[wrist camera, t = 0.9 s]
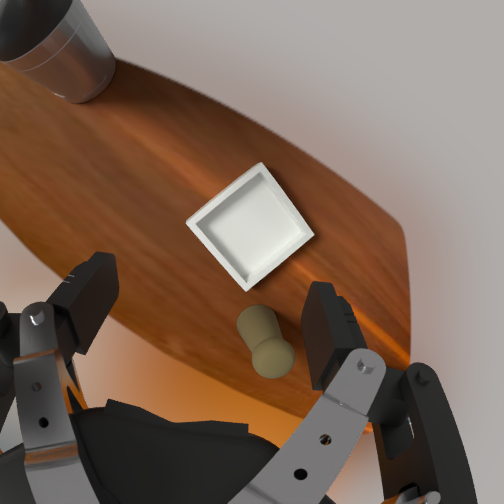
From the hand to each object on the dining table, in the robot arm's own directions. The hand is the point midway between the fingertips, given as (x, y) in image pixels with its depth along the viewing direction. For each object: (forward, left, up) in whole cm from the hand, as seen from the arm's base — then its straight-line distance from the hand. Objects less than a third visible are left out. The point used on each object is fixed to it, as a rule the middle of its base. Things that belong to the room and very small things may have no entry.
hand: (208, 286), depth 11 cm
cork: (+17, -4, -26) cm, 31 cm away
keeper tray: (+5, +4, -25) cm, 26 cm away
